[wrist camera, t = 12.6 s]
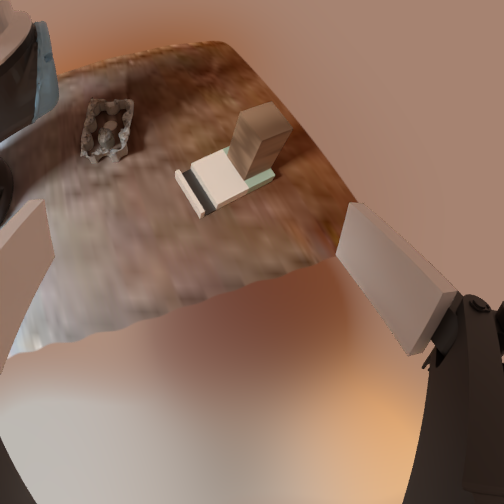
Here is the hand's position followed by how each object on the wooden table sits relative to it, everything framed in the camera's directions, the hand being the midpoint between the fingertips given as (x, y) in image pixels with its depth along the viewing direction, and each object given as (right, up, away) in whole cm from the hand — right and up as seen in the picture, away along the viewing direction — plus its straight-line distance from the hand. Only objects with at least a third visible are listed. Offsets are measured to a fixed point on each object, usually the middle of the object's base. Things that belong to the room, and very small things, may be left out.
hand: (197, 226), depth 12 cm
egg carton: (-19, +17, +30) cm, 39 cm away
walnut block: (+2, +12, +30) cm, 33 cm away
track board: (-2, +9, +31) cm, 33 cm away
